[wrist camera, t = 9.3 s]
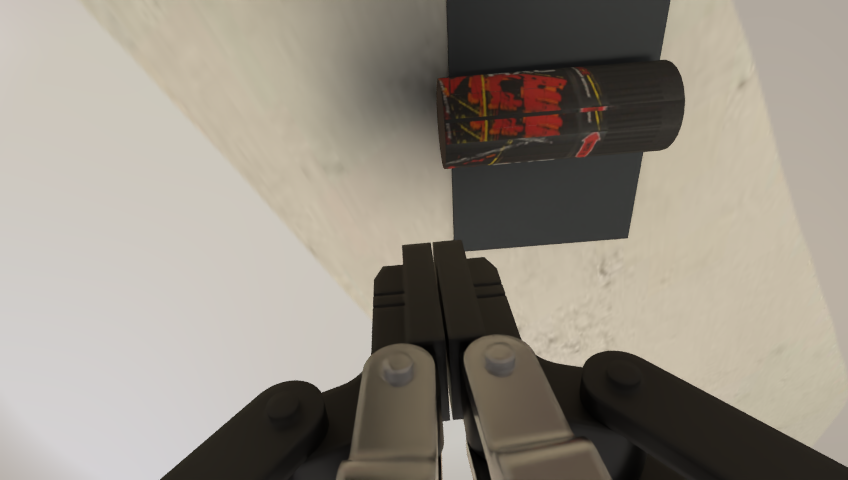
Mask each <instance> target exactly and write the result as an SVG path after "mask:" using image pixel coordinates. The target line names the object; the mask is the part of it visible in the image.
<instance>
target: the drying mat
mask: <svg viewBox="0 0 848 480" xmlns="http://www.w3.org/2000/svg"><path fill="white" fill-rule="evenodd" d="M669 5H670V0H447V32H448V64H449V78H450V77H462V76H474V75H487V74H499V73H511V72H523V71H535V70H548V69H560V68H572V67H584V66H596V65H608V64H621V63H633V62H645V61H657V60H660V56H661V50H662V44H663V39H664V33H665V28H666V22H667V17H668V11H669ZM642 156H643V152H637V153H625V154H613V155H602V156H590V157H578V158H567V159H555V160H543V161H532V162H520V163H508V164H497V165H485V166H473V167H462V168H452V193H453V225H454V240H462V243H463V247H464V251H476V250H488V249H501V248H513V247H525V246H537V245H549V244H562V243H574V242H586V241H598V240H610V239H623V238H628V234H629V228H630V223H631V217H632V212H633V206H634V200H635V195H636V189H637V184H638V178H639V173H640V167H641V161H642Z"/></svg>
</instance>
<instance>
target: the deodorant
mask: <svg viewBox="0 0 848 480" xmlns="http://www.w3.org/2000/svg"><path fill="white" fill-rule="evenodd" d="M684 106H685V95H684V86H683V82H682V78H681V75H680V73H679V71H678V69H677V67H676V66H675V65H674V64H673V63H672V62H670V61H667V60H657V61H645V62H633V63H621V64H608V65H596V66H584V67H572V68H560V69H548V70H535V71H523V72H511V73H499V74H487V75H474V76H462V77H450V78H438V79H437V118H438V131H439V142H440V151H441V158H442V164H443V168H444V169H450V168H462V167H473V166H485V165H497V164H508V163H520V162H532V161H543V160H555V159H567V158H578V157H590V156H602V155H613V154H625V153H637V152H648V151H660V150H663V149H666V148H668V147H669V146H670V145H671V144H672V143H673V142H674V140H675V138H676V137H677V135H678V133H679V130H680V128H681V125H682V120H683V115H684Z"/></svg>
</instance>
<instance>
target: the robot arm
mask: <svg viewBox="0 0 848 480" xmlns="http://www.w3.org/2000/svg"><path fill="white" fill-rule="evenodd" d="M402 252H403V265H395V266H384V267H382V269H381V270H380V272H379V273H378V275H377V276H376V278H375V279H374V297H373V324H372V352H371V356H370V357H369V359H368V360H367V361H366V363H365V365H364V368H363V371H362V372H361V373H360V374H359V375H358V376H357V377H356V378H354V379H353V380H351V381H350V382H348V383H346V384H344V385H341V386H339V387H336V388H333V389H330V390H328V391H325V392H322V393H321V391H320V390H319V389H318V388H317V387H315V386H314V385H313V384H311V383H308V382H304V381H286V382H282V383H279V384H276V385H274V386H272V387H270V388H268V389H266V390H265V391H263V392H262V393H261V394H259V395H258V396H257V397H256V398H255V399H254V400H252V401H251V402H250V403H249V404H248V405H246V406H245V407H244V408H243V409H242V410H241V411H239V412H238V413H237V414H236V415H235V416H234V417H232V418H231V419H230V420H229V421H228V422H227V423H225V424H224V425H223V426H222V427H221V428H220V429H219V430H218V431H216V432H215V433H214V434H213V435H211V436H210V437H209V438H208V439H207V440H206V441H204V442H203V443H202V444H201V445H200V446H199V447H198V448H196V449H195V450H194V451H193V452H192V453H190V454H189V455H188V456H187V457H186V458H185V459H183V460H182V461H181V462H180V463H179V464H178V465H176V466H175V467H174V468H173V469H172V470H171V471H169V472H168V473H167V474H166V475H165V476H164V477H162V478H161V479H160V480H442V449H443V445H444V436H443V423H442V422H443V421H448V420H450V414H449V396H448V388H449V395H450V402H451V409H452V416H453V420H456V419H464V425H465V431H466V448H467V456H468V460H469V464H470V468H471V472H472V476H473V480H848V467H846V466H844V465H842V464H840V463H838V462H837V461H835V460H833V459H831V458H829V457H827V456H825V455H823V454H821V453H819V452H818V451H816V450H814V449H812V448H810V447H808V446H806V445H804V444H803V443H801V442H799V441H797V440H795V439H793V438H791V437H789V436H788V435H786V434H784V433H782V432H780V431H778V430H776V429H774V428H772V427H771V426H769V425H767V424H765V423H763V422H761V421H759V420H757V419H755V418H754V417H752V416H750V415H748V414H746V413H744V412H742V411H740V410H738V409H737V408H735V407H733V406H731V405H729V404H727V403H725V402H723V401H722V400H720V399H718V398H716V397H714V396H712V395H710V394H708V393H706V392H705V391H703V390H701V389H699V388H697V387H695V386H693V385H691V384H689V383H688V382H686V381H684V380H682V379H680V378H678V377H676V376H674V375H672V374H671V373H669V372H667V371H665V370H663V369H661V368H659V367H657V366H656V365H654V364H652V363H650V362H648V361H646V360H644V359H642V358H640V357H638V356H636V355H633V354H630V353H626V352H621V351H604V352H600V353H597V354H595V355H593V356H591V357H590V358H589V359H588V360H587V361H586V362H585V364H584V366H583V368H582V367H576V366H569V365H563V364H557V363H553V362H550V361H547V360H544V359H542V358H540V357H538V356H537V355H535V353H534V351H533V350H532V349H531V347H530V346H529V345H527V344H526V343H525V342H523V341H522V340H521V337H520V335H519V332H518V329H517V326H516V323H515V320H514V317H513V314H512V311H511V309H510V306H509V303H508V300H507V297H506V296H505V291H504V288H503V285H502V284H501V280H500V277H499V274H498V271H497V268H496V267H495V266H493V265H492V264H491V263H490V262H489V261H488V260H487V259H486V258H485V257H480V258H470V259H466V255H465V251H464V247H463V243H462V240H452V241H441V242H433V255H432V249H431V243H420V244H409V245H402ZM433 257H434V262H433Z"/></svg>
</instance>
